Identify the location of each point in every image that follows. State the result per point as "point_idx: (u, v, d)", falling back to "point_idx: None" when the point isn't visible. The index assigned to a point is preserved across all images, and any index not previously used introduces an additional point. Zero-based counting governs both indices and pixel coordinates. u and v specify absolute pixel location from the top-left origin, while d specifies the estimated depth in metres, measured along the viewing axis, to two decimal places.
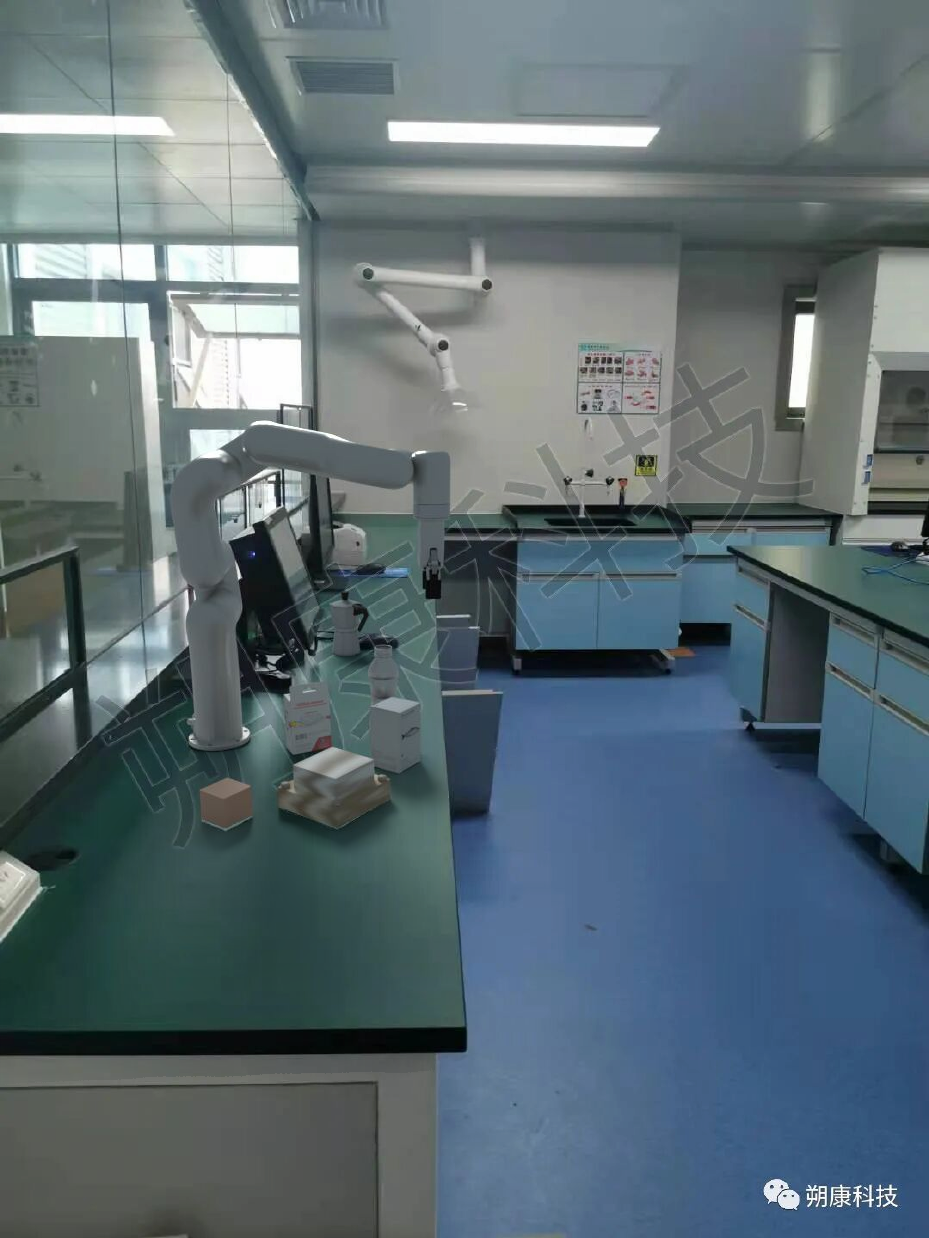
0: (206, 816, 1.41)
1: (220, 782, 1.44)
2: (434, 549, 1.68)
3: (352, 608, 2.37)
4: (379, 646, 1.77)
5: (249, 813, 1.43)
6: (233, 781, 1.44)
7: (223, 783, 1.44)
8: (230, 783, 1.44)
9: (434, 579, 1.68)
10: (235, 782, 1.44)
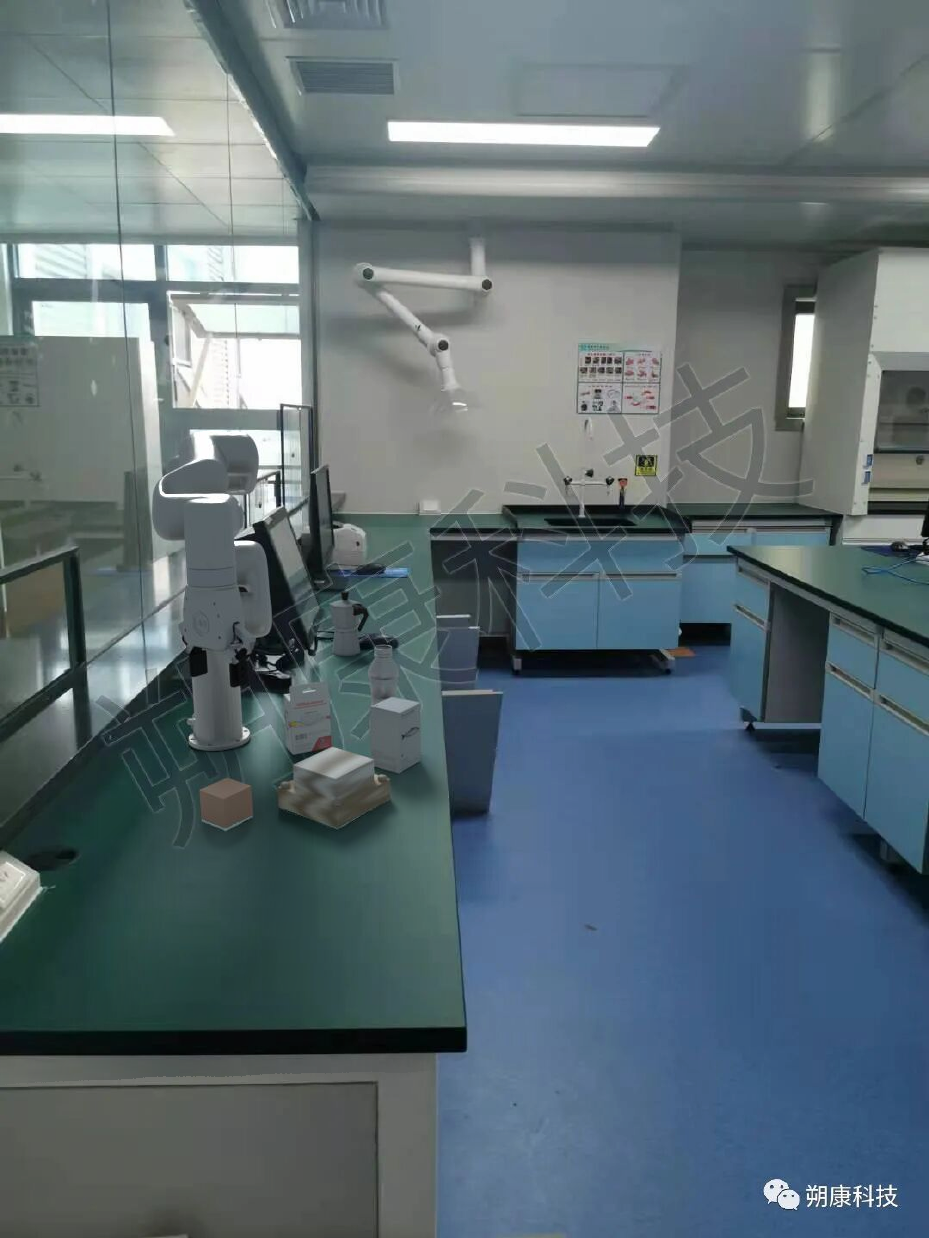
0: (206, 816, 1.41)
1: (220, 782, 1.44)
2: (237, 623, 1.32)
3: (352, 608, 2.37)
4: (379, 646, 1.77)
5: (249, 813, 1.43)
6: (233, 781, 1.44)
7: (223, 783, 1.44)
8: (230, 783, 1.44)
9: (243, 660, 1.33)
10: (235, 782, 1.44)
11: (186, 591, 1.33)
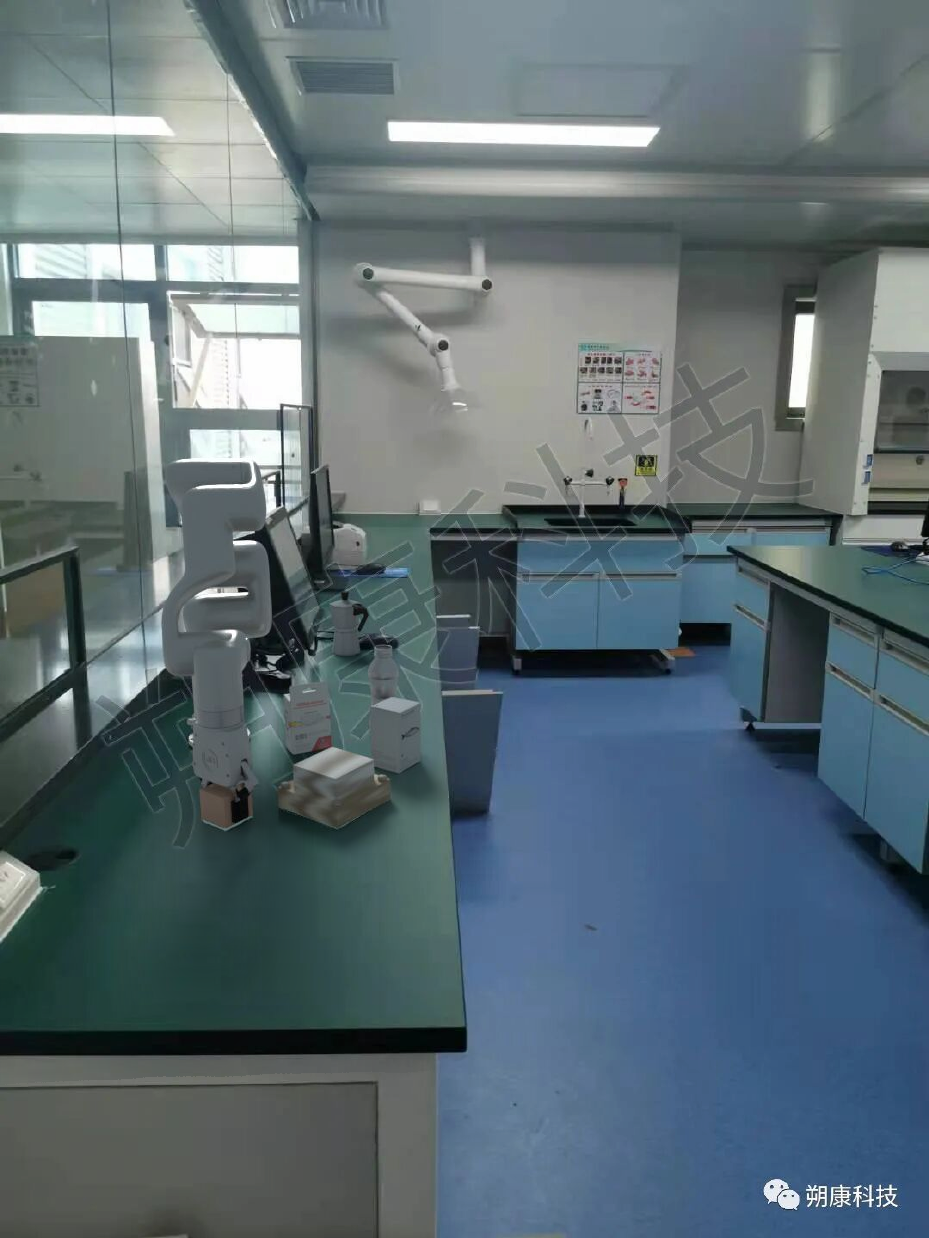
0: (206, 816, 1.41)
1: None
2: (244, 763, 1.38)
3: (352, 608, 2.37)
4: (379, 646, 1.77)
5: (249, 813, 1.43)
6: None
7: None
8: None
9: (244, 798, 1.40)
10: None
11: (196, 728, 1.39)
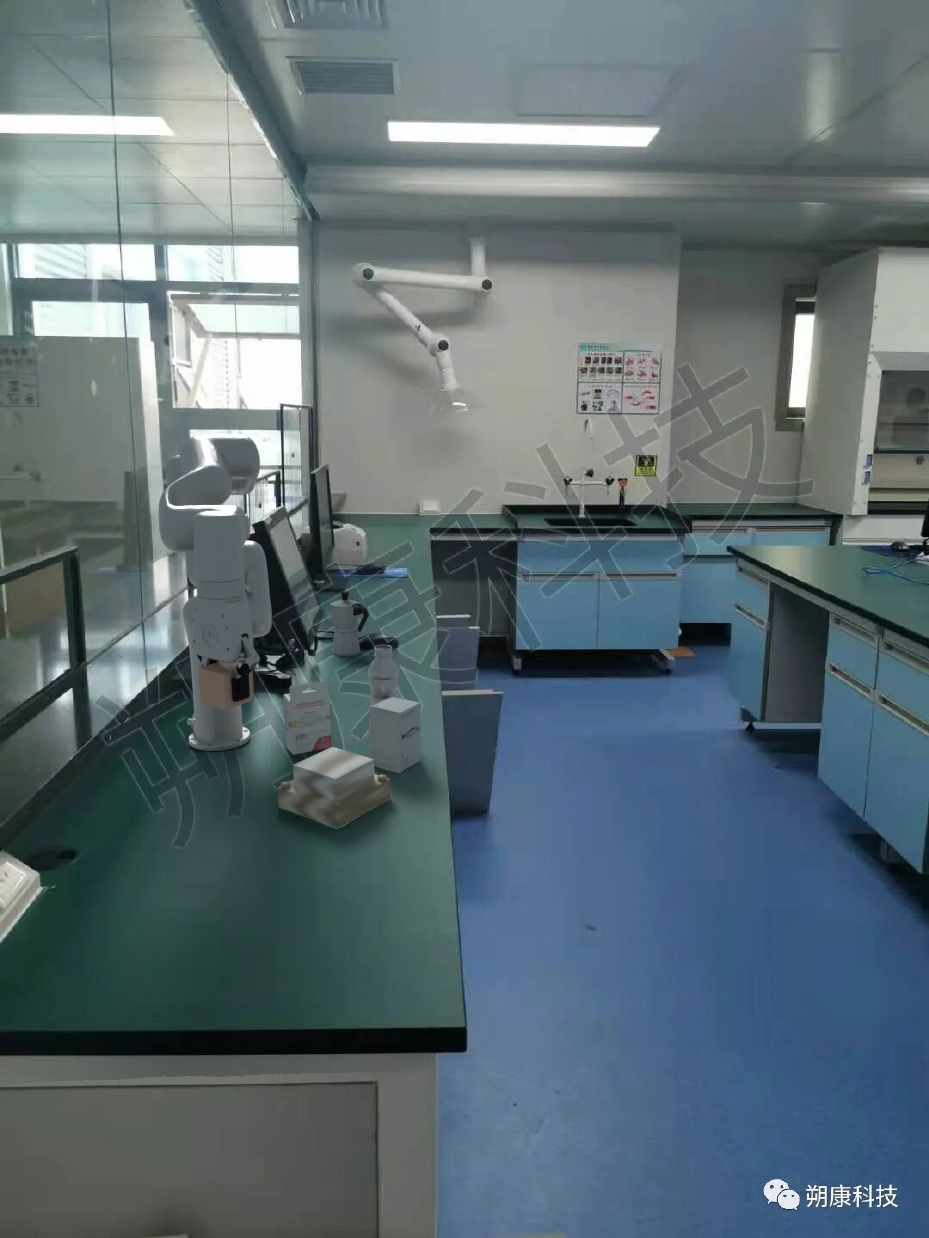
0: (206, 695, 1.37)
1: (220, 662, 1.39)
2: (245, 638, 1.33)
3: (352, 608, 2.37)
4: (379, 646, 1.77)
5: (250, 694, 1.39)
6: None
7: (223, 663, 1.39)
8: None
9: (245, 675, 1.35)
10: None
11: (195, 602, 1.34)
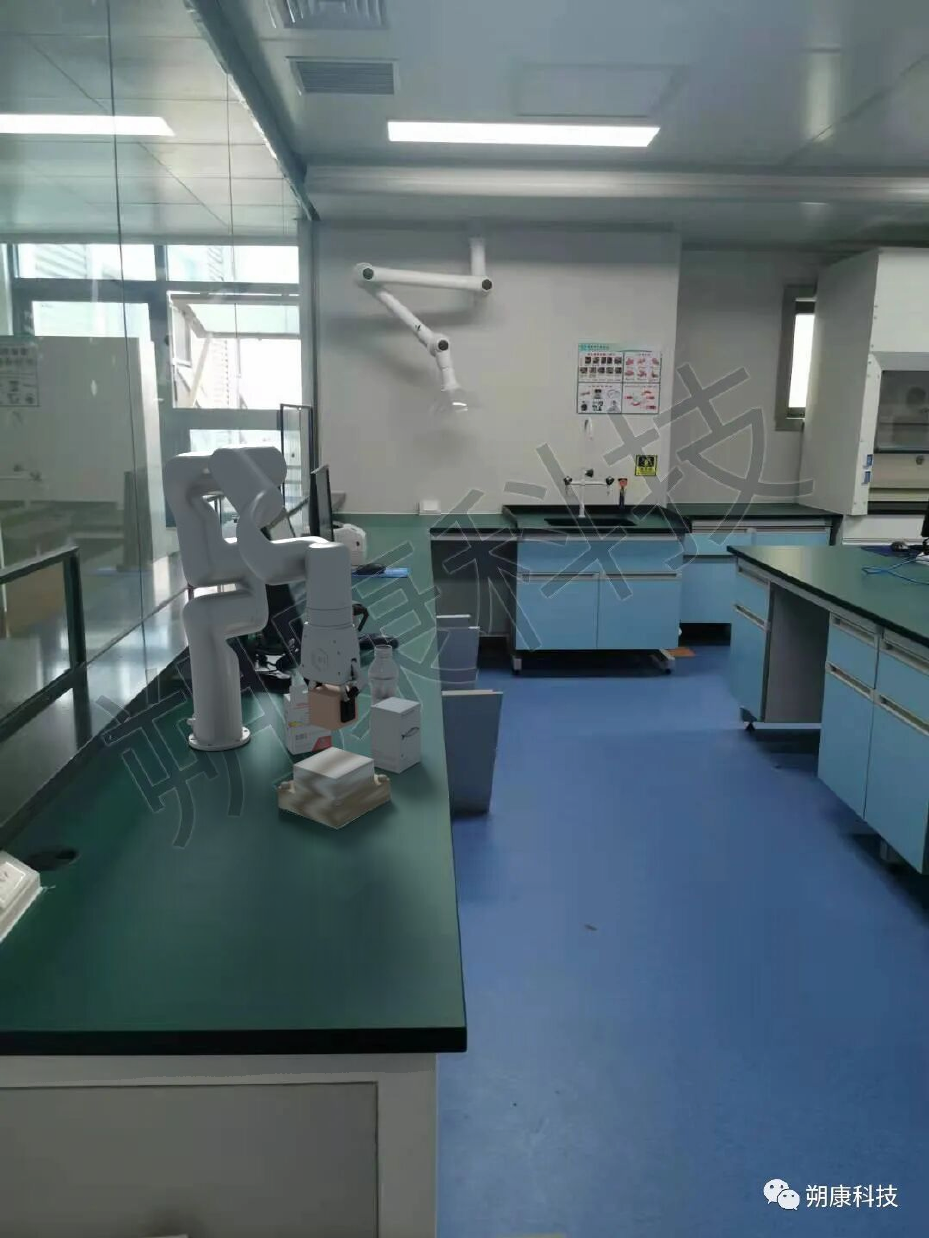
0: (314, 717, 1.44)
1: (325, 685, 1.46)
2: (354, 662, 1.40)
3: (352, 608, 2.37)
4: (379, 646, 1.77)
5: None
6: None
7: (329, 686, 1.46)
8: (336, 686, 1.46)
9: (353, 698, 1.42)
10: None
11: (305, 629, 1.41)
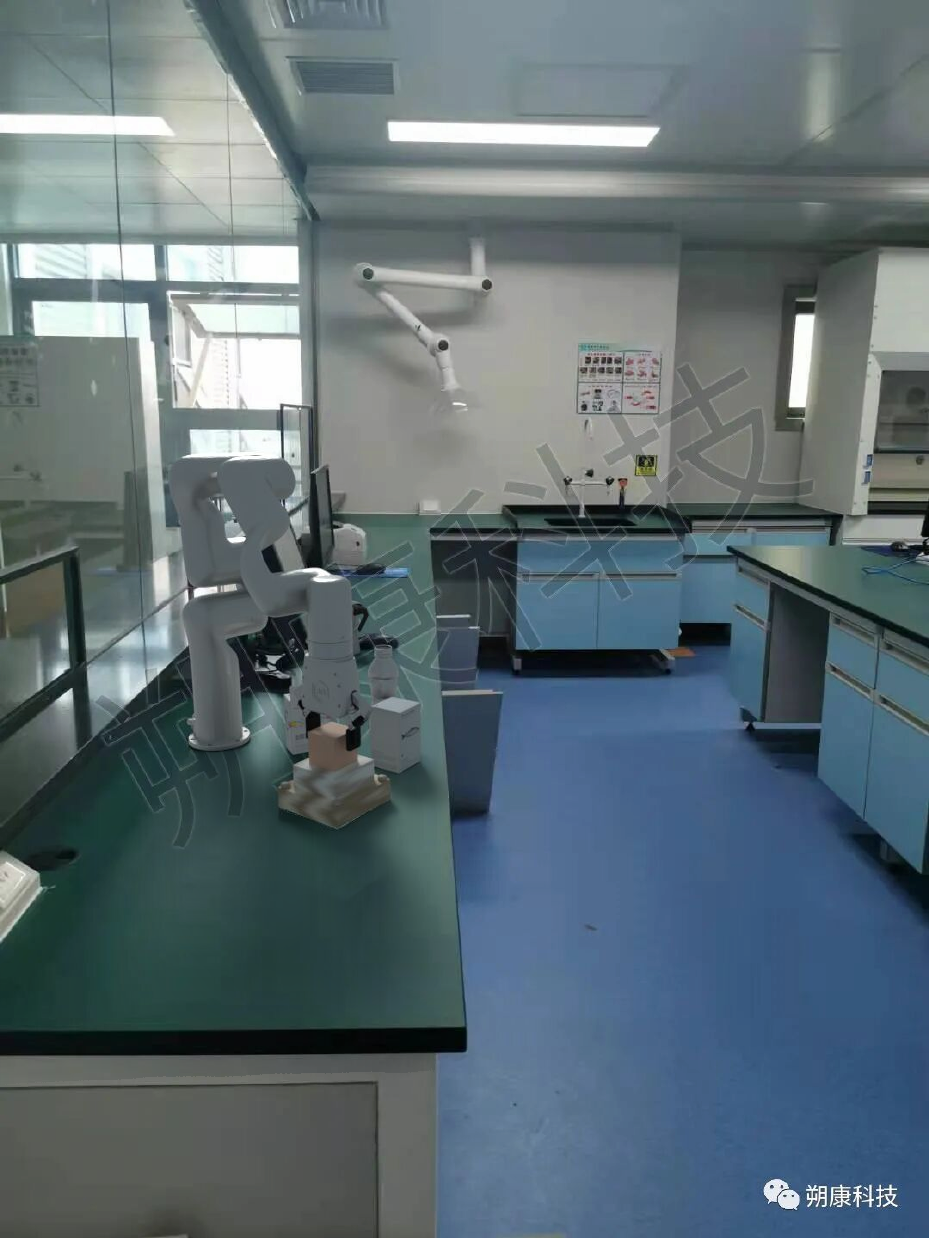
0: (314, 757, 1.46)
1: (325, 725, 1.48)
2: (354, 692, 1.42)
3: (352, 608, 2.37)
4: (379, 646, 1.77)
5: (354, 755, 1.48)
6: (338, 724, 1.49)
7: (328, 726, 1.48)
8: (336, 726, 1.48)
9: (359, 726, 1.43)
10: (340, 725, 1.48)
11: (306, 661, 1.43)
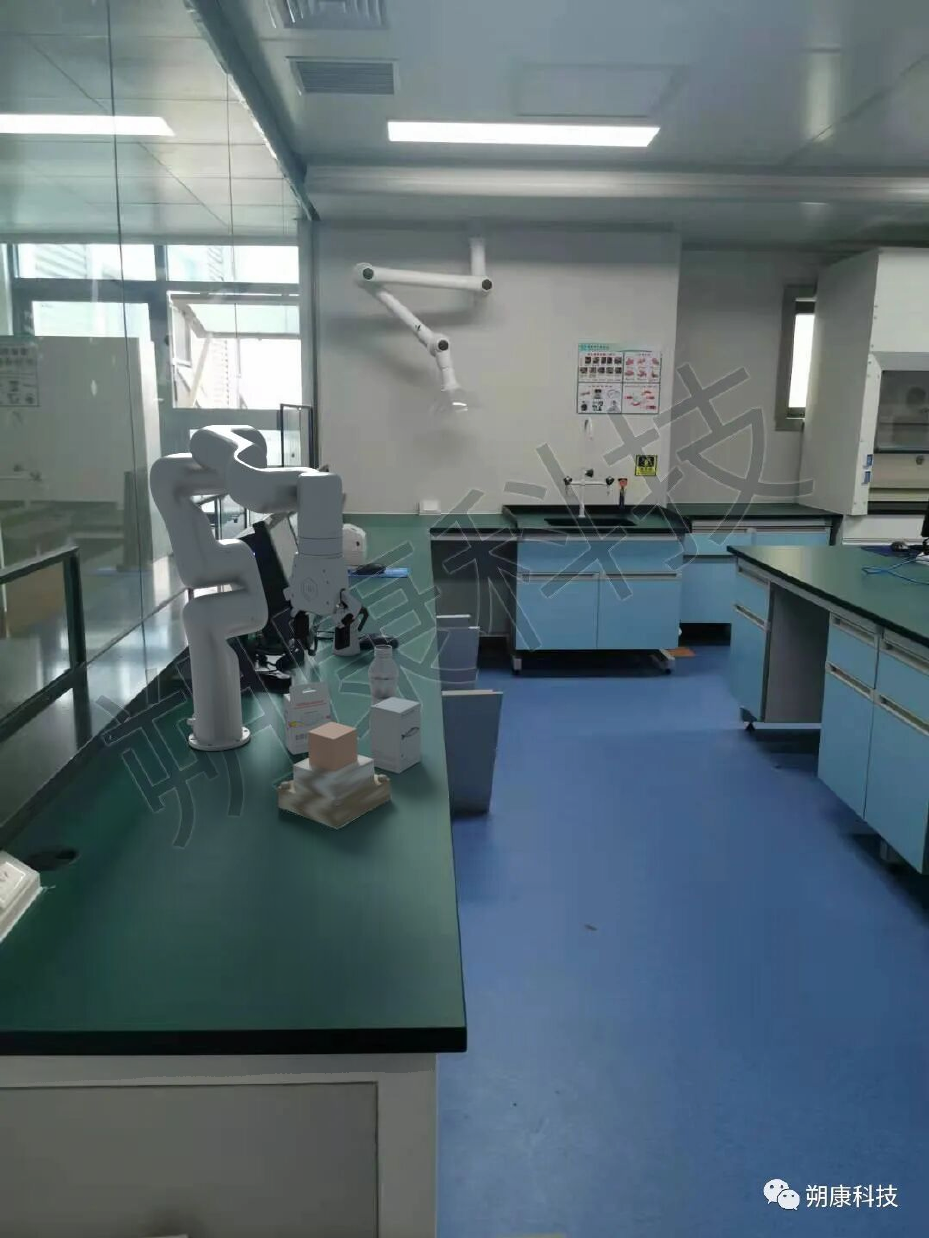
0: (314, 757, 1.46)
1: (325, 725, 1.48)
2: (343, 590, 1.41)
3: None
4: (379, 646, 1.77)
5: (354, 755, 1.48)
6: (338, 724, 1.49)
7: (328, 726, 1.48)
8: (336, 726, 1.48)
9: (348, 625, 1.42)
10: (340, 725, 1.48)
11: (295, 558, 1.42)
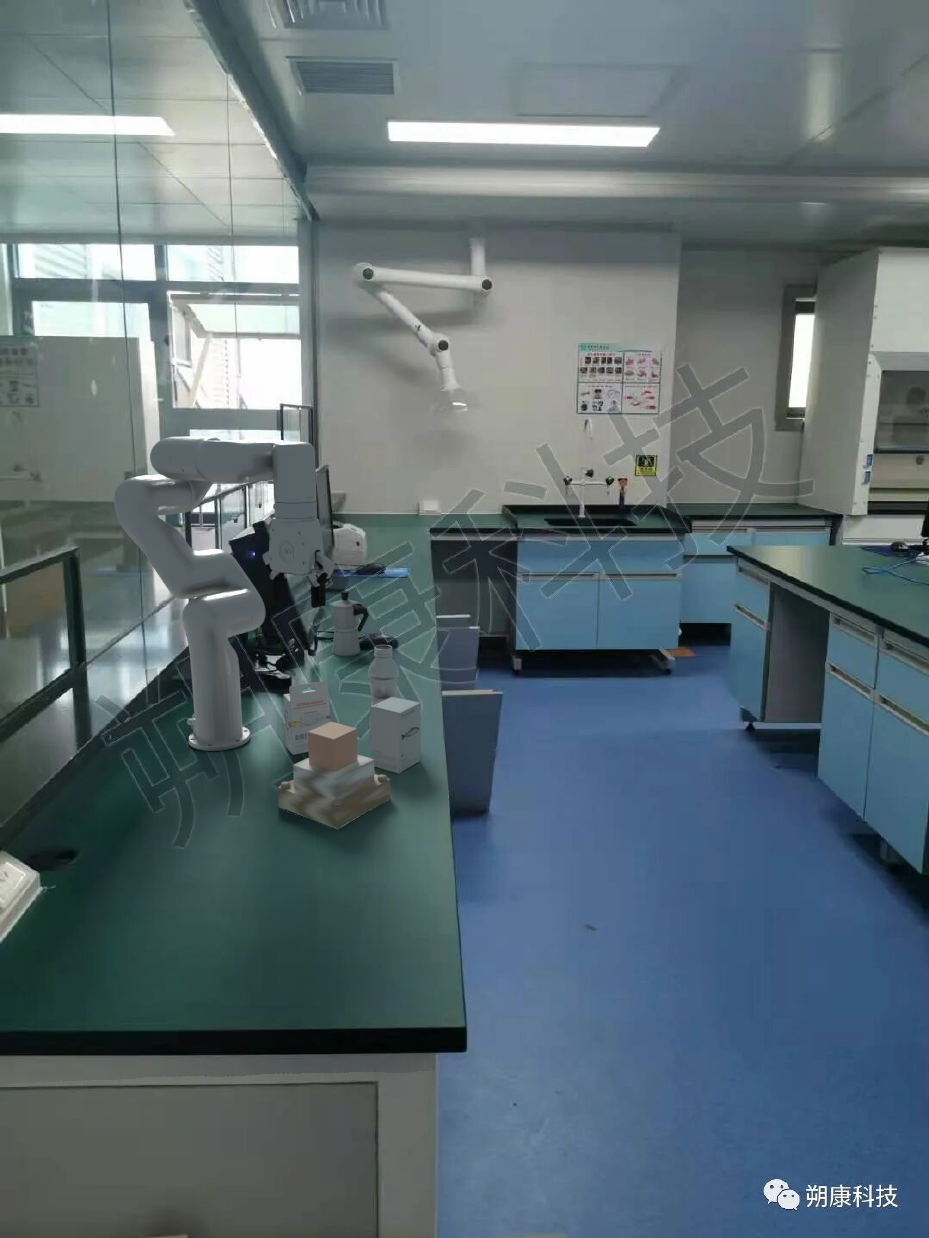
0: (314, 757, 1.46)
1: (325, 725, 1.48)
2: (318, 551, 1.51)
3: (352, 608, 2.37)
4: (379, 646, 1.77)
5: (354, 755, 1.48)
6: (338, 724, 1.49)
7: (328, 726, 1.48)
8: (336, 726, 1.48)
9: (323, 584, 1.52)
10: (340, 725, 1.48)
11: (273, 523, 1.52)
